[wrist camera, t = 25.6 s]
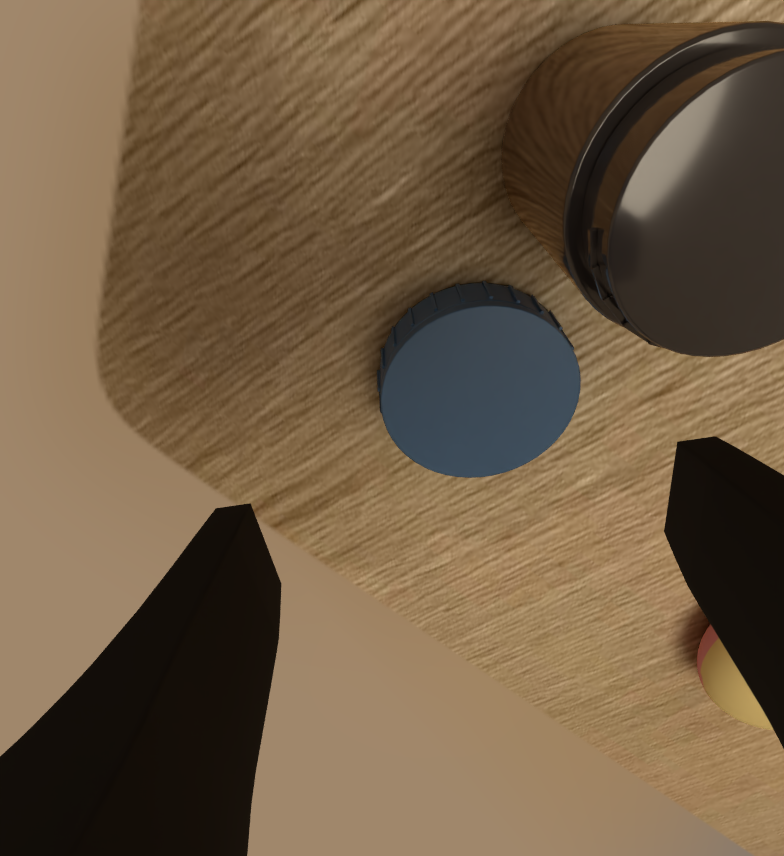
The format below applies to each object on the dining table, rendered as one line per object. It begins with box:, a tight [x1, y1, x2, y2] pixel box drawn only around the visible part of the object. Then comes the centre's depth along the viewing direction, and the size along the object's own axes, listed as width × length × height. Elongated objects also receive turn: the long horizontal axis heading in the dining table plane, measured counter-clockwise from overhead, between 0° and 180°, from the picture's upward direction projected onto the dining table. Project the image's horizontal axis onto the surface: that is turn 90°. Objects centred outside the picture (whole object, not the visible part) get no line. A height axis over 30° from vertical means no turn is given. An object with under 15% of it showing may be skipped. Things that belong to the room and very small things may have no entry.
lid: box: [377, 281, 580, 478], centre depth 19 cm, size 6×6×2 cm
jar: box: [501, 21, 784, 357], centre depth 13 cm, size 5×5×8 cm
